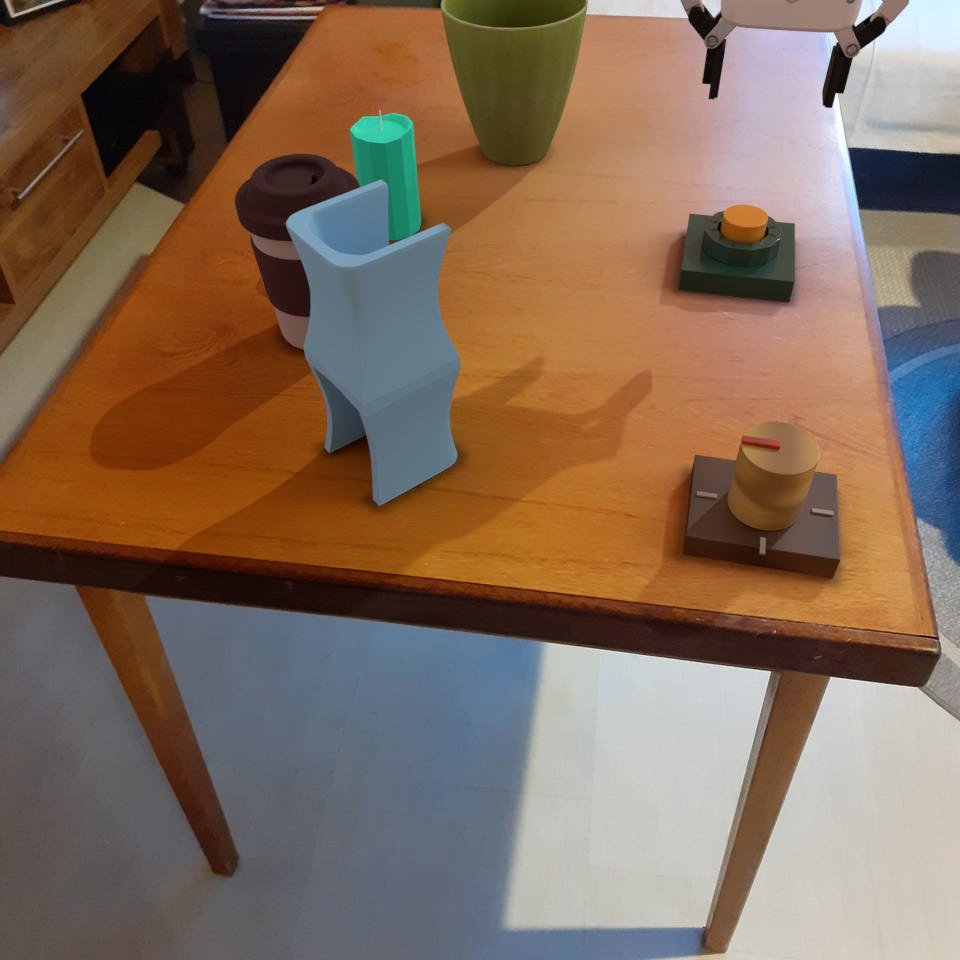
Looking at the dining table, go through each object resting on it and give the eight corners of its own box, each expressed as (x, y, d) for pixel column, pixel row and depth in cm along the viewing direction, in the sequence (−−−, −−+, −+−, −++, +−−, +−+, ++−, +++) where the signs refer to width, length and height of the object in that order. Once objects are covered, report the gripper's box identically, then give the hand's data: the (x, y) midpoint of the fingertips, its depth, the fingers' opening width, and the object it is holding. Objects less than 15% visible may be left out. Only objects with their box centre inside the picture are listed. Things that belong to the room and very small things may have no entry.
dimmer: (830, 487, 67) (837, 466, 66) (833, 585, 61) (841, 565, 60) (691, 467, 69) (695, 447, 68) (681, 561, 63) (685, 541, 62)
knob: (801, 483, 65) (821, 423, 61) (800, 536, 62) (821, 476, 57) (729, 473, 66) (743, 412, 62) (724, 524, 63) (739, 464, 58)
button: (765, 223, 86) (768, 206, 85) (764, 246, 83) (767, 229, 82) (721, 219, 87) (724, 202, 85) (719, 241, 84) (722, 224, 83)
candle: (430, 214, 96) (421, 100, 87) (408, 244, 92) (397, 128, 83) (377, 206, 97) (363, 93, 88) (353, 235, 93) (336, 120, 84)
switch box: (790, 243, 90) (799, 206, 87) (789, 302, 83) (799, 264, 80) (686, 233, 92) (692, 196, 89) (677, 290, 85) (683, 252, 82)
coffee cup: (244, 339, 82) (202, 183, 71) (317, 284, 87) (289, 132, 76) (328, 377, 78) (298, 218, 67) (400, 318, 83) (383, 162, 72)
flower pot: (423, 146, 106) (412, -2, 95) (524, 109, 112) (525, -35, 100) (502, 197, 98) (501, 41, 86) (607, 154, 104) (618, 2, 92)
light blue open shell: (465, 458, 71) (452, 227, 56) (379, 506, 67) (342, 274, 53) (407, 405, 75) (382, 178, 61) (324, 448, 72) (276, 218, 57)
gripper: (687, -143, 62) (658, 108, 75) (961, -136, 59) (883, 125, 72) (695, -170, 67) (667, 70, 80) (948, -164, 64) (877, 85, 77)
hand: (769, 96), depth 76 cm, fingers open, 8 cm apart
